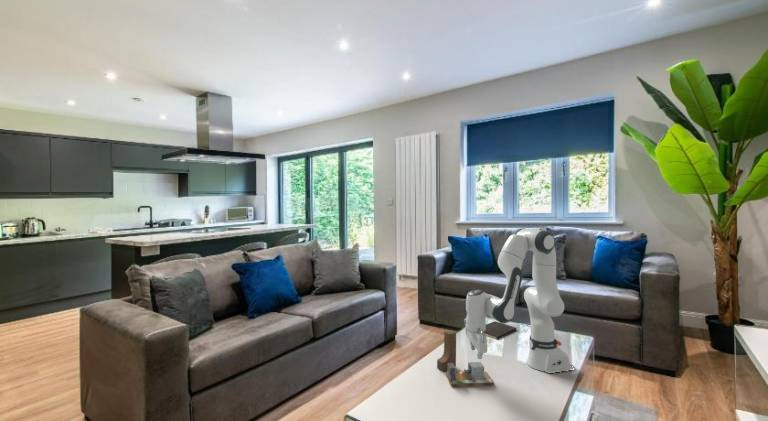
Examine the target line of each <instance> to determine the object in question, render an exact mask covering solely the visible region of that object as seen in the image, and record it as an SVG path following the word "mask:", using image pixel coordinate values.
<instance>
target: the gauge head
mask: <svg viewBox="0 0 768 421" xmlns="http://www.w3.org/2000/svg"><path fill="white" fill-rule="evenodd" d="M467 364H468V365H467V368H468V369H467V368H465V369H464V370H463V372H465V373H468V375H469V377H470V378H471V380H472V381H473V382H475V380H484V372H485V366H484V364H483V363H482V362H481V361H468V363H467Z"/></svg>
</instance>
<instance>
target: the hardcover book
mask: <svg viewBox="0 0 768 421" xmlns="http://www.w3.org/2000/svg"><path fill="white" fill-rule="evenodd" d="M516 331H517V327H515V326H512V325H508V324H507V323H500V322H499V321H497V320H496V321H495V320H494V321H491V322H489V323H487V324H486V330H485V331H483V333H484V335H485V336H486V337H489V338H492V339H494V340H500V339H501V338H503V337H505V336H508V335H510V334H513V332H516Z"/></svg>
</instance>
